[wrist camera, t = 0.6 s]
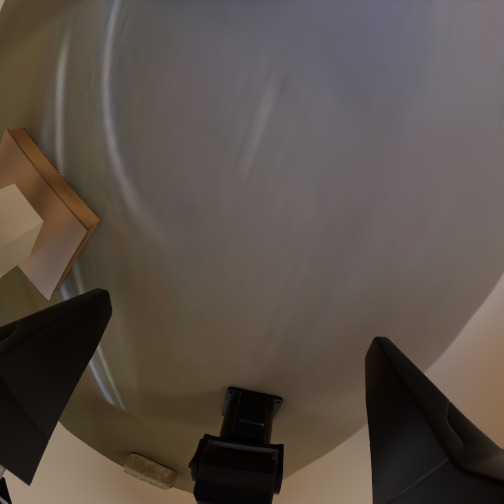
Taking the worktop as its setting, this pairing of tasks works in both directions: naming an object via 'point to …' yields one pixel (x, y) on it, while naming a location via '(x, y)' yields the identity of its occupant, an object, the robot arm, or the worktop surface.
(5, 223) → the cream box
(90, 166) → the worktop surface
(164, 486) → the stone block
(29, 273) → the wooden base plate
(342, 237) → the worktop surface
